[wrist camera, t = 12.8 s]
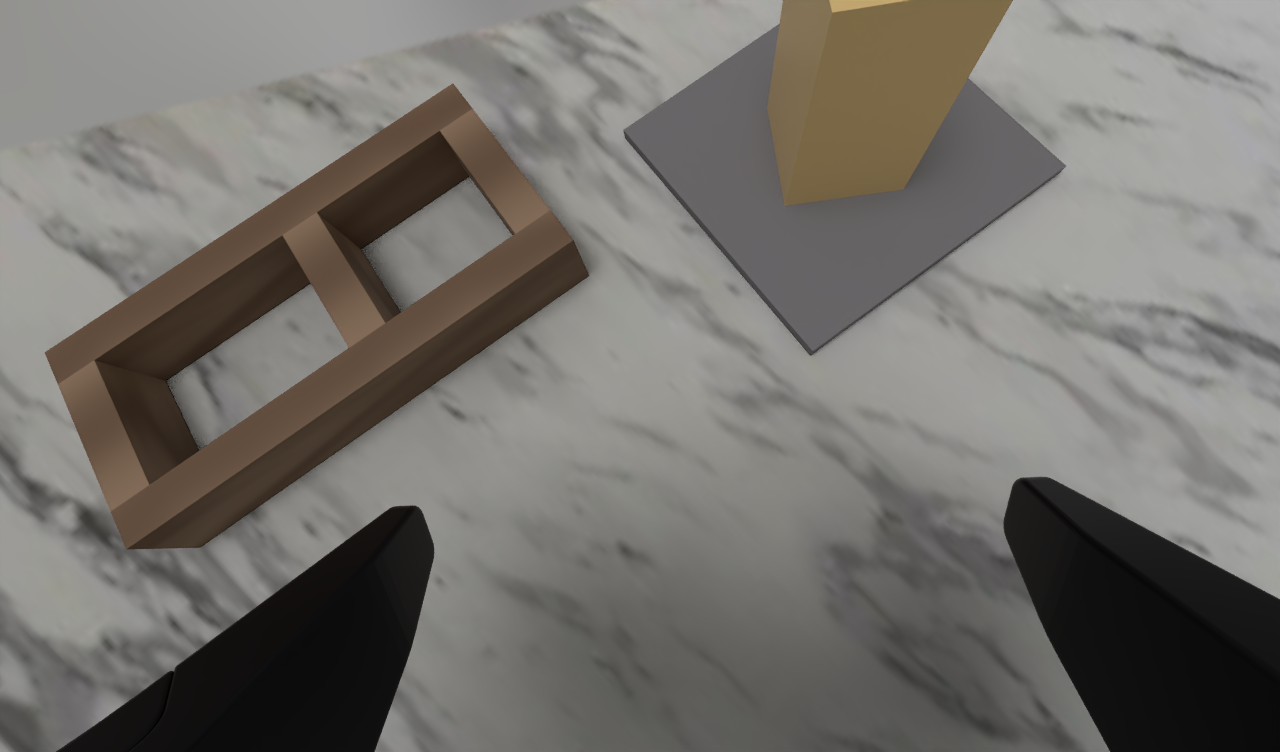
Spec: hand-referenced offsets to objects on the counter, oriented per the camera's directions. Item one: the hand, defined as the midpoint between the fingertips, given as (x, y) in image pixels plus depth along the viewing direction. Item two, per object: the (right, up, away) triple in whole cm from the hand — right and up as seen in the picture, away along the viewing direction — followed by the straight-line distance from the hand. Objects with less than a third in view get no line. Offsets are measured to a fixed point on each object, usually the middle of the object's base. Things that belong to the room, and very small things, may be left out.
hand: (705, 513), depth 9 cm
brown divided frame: (-13, +4, +15) cm, 20 cm away
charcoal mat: (+7, +11, +15) cm, 20 cm away
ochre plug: (+7, +11, +15) cm, 19 cm away
